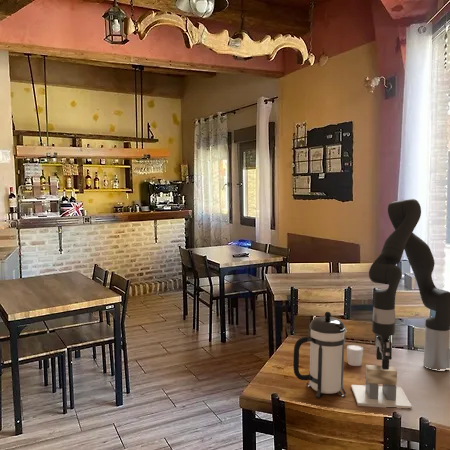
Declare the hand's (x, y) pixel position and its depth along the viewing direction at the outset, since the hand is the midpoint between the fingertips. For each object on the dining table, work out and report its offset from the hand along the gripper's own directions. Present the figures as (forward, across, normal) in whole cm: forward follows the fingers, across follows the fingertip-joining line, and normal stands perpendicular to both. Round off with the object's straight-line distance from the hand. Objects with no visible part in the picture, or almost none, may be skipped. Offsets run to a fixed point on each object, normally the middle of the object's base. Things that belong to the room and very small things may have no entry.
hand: (382, 364), depth 157 cm
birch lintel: (+6, 0, 0) cm, 7 cm away
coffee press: (+13, +2, +20) cm, 24 cm away
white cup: (+13, +30, +4) cm, 33 cm away
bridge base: (+12, 0, 0) cm, 13 cm away
